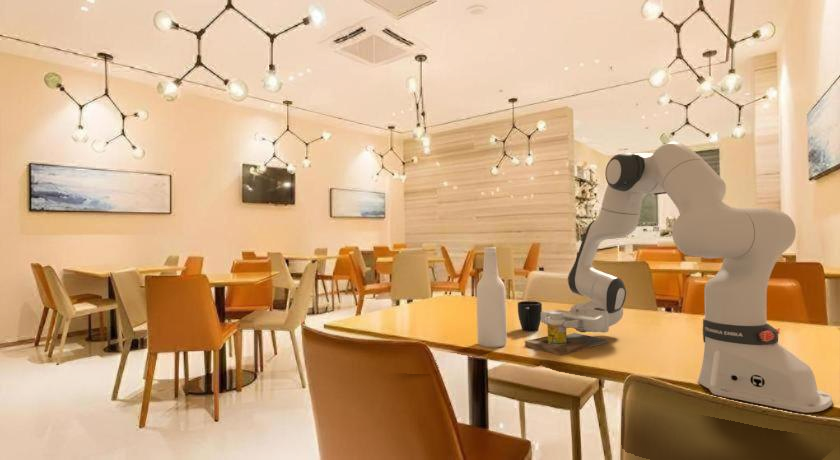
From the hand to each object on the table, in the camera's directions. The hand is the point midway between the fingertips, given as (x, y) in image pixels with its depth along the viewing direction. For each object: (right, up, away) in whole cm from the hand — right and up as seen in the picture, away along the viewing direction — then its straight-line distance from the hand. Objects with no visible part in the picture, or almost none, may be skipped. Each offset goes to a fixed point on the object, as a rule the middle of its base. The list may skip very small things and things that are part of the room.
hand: (554, 323), depth 135 cm
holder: (+1, -7, +1) cm, 7 cm away
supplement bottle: (+1, -7, +1) cm, 7 cm away
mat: (+11, -7, +7) cm, 15 cm away
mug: (-2, -8, +23) cm, 24 cm away
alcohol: (-18, -8, +5) cm, 20 cm away
